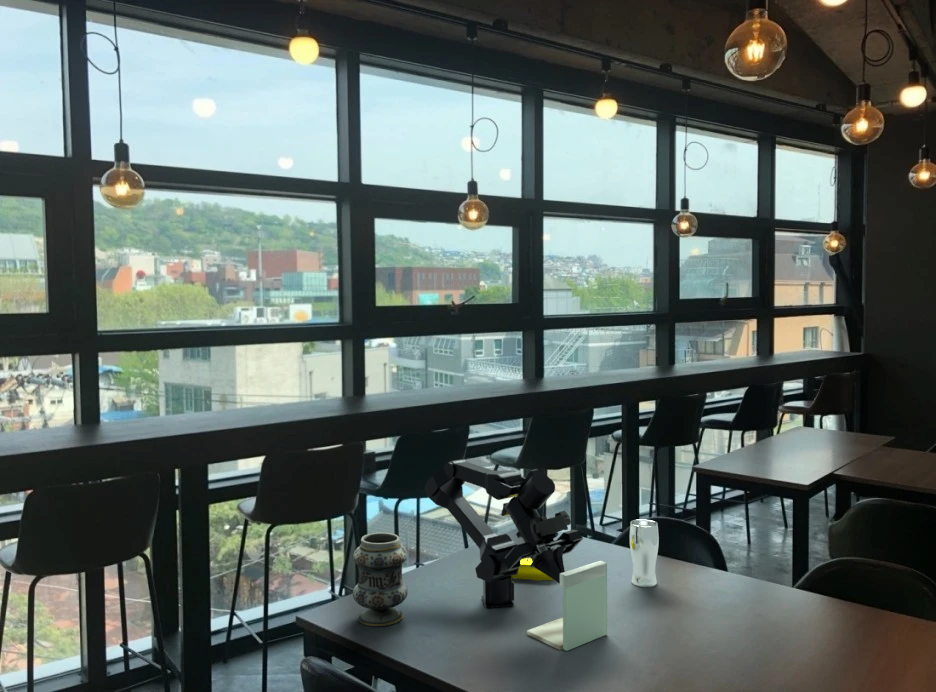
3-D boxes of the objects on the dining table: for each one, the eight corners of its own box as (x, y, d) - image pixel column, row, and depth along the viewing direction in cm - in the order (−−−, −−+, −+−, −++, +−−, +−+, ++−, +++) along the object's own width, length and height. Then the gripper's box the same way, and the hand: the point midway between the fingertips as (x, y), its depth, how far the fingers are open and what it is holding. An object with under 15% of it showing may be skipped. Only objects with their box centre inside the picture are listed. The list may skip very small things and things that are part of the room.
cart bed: (526, 634, 155) (526, 630, 155) (570, 617, 163) (570, 614, 163) (559, 650, 148) (559, 646, 148) (603, 632, 156) (603, 628, 156)
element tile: (560, 563, 201) (560, 545, 200) (555, 583, 186) (554, 564, 186) (505, 560, 204) (505, 542, 204) (496, 579, 189) (495, 560, 189)
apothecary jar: (419, 616, 165) (418, 536, 164) (377, 634, 156) (376, 549, 156) (383, 602, 173) (382, 526, 173) (342, 618, 165) (340, 538, 164)
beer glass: (659, 588, 180) (659, 527, 179) (629, 587, 181) (629, 526, 181) (657, 578, 187) (657, 519, 186) (629, 577, 188) (629, 518, 188)
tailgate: (560, 647, 149) (559, 573, 148) (600, 631, 156) (600, 560, 155) (566, 650, 147) (566, 576, 146) (607, 634, 155) (607, 562, 154)
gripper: (513, 507, 153) (551, 574, 145) (576, 493, 165) (615, 554, 156) (489, 537, 160) (524, 602, 151) (551, 521, 171) (587, 581, 163)
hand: (564, 584), depth 155 cm, fingers closed
